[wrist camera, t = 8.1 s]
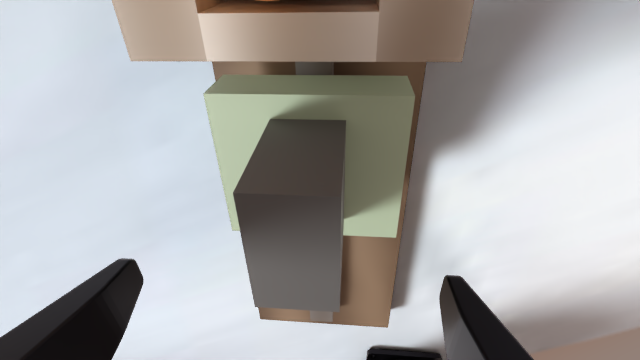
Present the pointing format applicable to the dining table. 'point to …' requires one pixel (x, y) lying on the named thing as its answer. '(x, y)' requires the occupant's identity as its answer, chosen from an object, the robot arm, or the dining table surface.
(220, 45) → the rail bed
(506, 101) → the dining table surface
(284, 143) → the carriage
